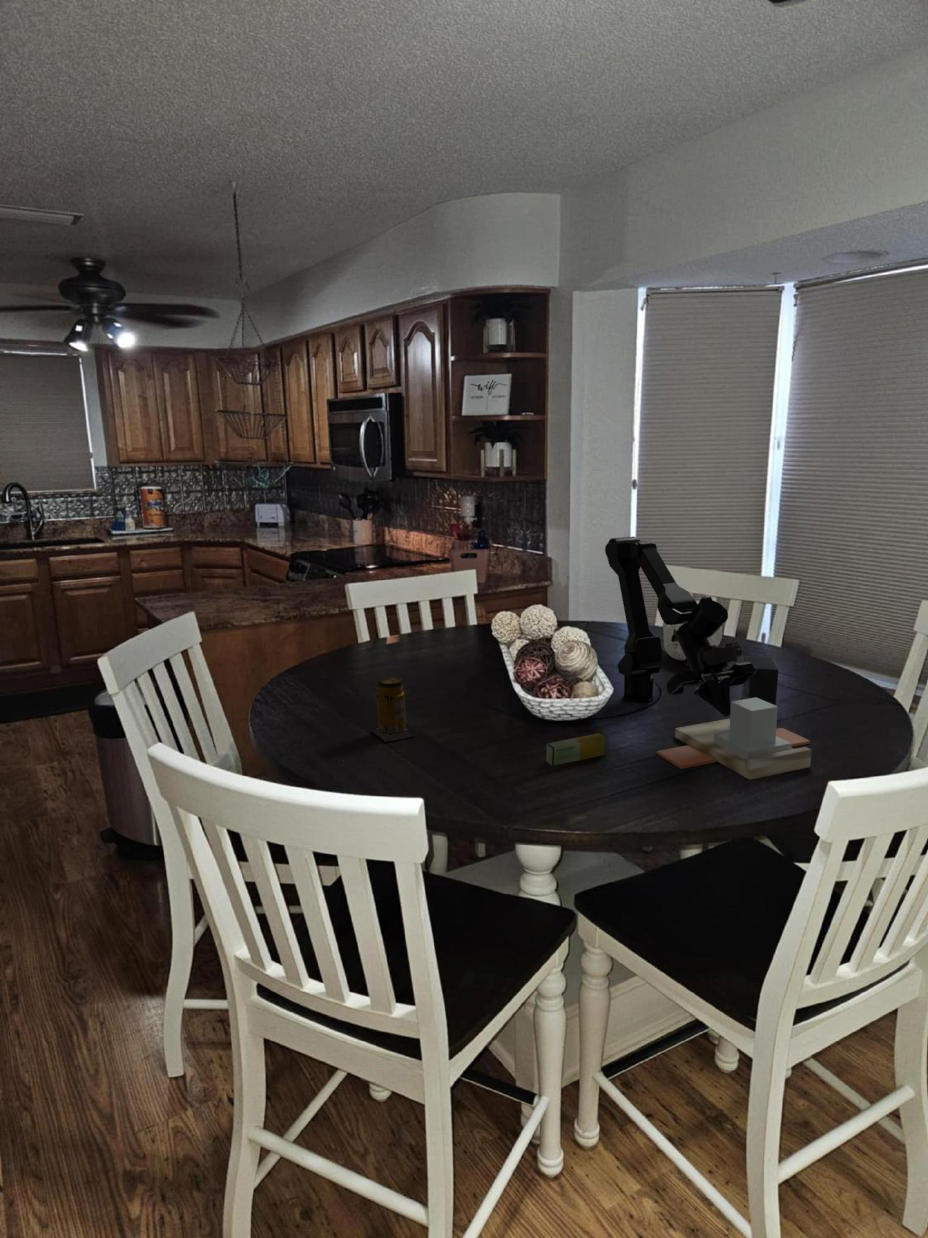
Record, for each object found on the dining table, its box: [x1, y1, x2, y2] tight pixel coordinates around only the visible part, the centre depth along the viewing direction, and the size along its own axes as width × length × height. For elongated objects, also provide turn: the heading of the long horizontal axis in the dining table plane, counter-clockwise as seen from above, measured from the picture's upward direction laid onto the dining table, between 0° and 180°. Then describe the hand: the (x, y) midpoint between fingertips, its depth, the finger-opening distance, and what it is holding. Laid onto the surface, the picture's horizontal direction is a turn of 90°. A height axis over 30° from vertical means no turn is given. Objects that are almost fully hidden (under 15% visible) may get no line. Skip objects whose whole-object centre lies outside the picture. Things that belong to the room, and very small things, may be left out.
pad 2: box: [776, 727, 811, 748], centre depth 162 cm, size 8×8×1 cm
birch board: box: [674, 718, 812, 781], centre depth 157 cm, size 23×14×4 cm, turn 20°
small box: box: [741, 655, 779, 706], centre depth 182 cm, size 11×6×10 cm, turn 168°
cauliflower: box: [662, 600, 724, 661], centre depth 222 cm, size 20×18×16 cm
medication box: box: [545, 733, 606, 767], centre depth 155 cm, size 12×3×4 cm, turn 112°
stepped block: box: [714, 697, 792, 760], centre depth 153 cm, size 10×10×9 cm
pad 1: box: [656, 744, 717, 770], centre depth 155 cm, size 8×8×1 cm
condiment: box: [376, 677, 407, 735], centre depth 170 cm, size 7×8×12 cm
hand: (728, 715), depth 159 cm, fingers closed
